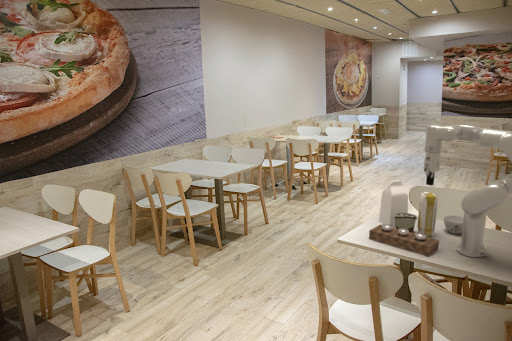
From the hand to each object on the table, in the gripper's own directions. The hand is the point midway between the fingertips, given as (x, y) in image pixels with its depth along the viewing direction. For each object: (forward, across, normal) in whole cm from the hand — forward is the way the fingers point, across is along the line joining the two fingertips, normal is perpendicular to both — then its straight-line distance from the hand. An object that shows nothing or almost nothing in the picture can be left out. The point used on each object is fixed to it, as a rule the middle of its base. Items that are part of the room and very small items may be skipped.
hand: (429, 184), depth 207 cm
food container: (+31, +7, +15) cm, 35 cm away
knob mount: (+31, -11, +7) cm, 34 cm away
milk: (+31, +15, +25) cm, 43 cm away
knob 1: (+30, -11, +16) cm, 36 cm away
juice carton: (+31, +11, +4) cm, 33 cm away
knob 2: (+30, -11, +7) cm, 33 cm away
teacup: (+31, +25, -8) cm, 41 cm away
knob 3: (+30, -11, -2) cm, 32 cm away
